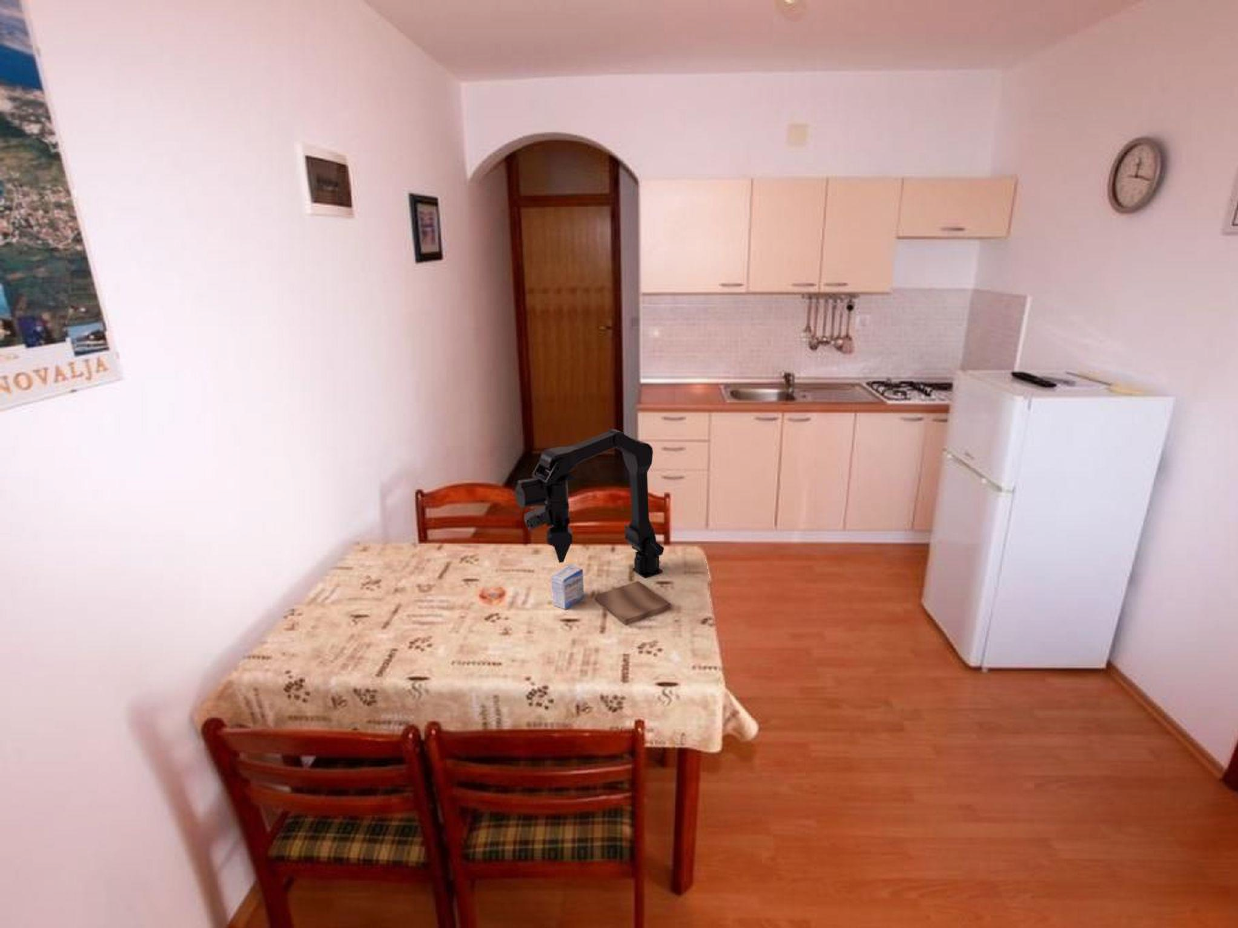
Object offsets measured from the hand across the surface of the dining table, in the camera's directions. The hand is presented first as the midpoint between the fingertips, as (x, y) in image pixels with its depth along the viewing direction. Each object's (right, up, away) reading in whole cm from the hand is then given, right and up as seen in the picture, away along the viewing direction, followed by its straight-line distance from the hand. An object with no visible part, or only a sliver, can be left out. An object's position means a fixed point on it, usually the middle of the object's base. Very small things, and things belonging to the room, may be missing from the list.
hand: (560, 554), depth 171 cm
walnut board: (+19, -13, +1) cm, 23 cm away
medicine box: (+2, -13, +3) cm, 14 cm away
